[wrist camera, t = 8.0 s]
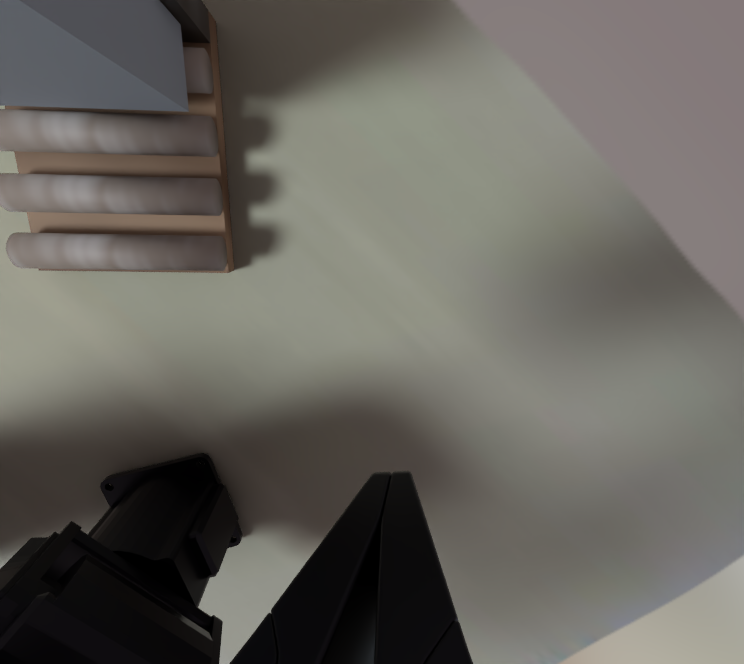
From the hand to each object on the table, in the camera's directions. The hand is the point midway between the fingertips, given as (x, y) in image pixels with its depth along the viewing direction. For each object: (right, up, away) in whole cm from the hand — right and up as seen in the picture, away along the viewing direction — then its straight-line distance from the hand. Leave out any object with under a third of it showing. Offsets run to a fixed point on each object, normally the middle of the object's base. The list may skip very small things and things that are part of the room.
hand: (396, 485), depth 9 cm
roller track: (-12, +12, +10) cm, 20 cm away
